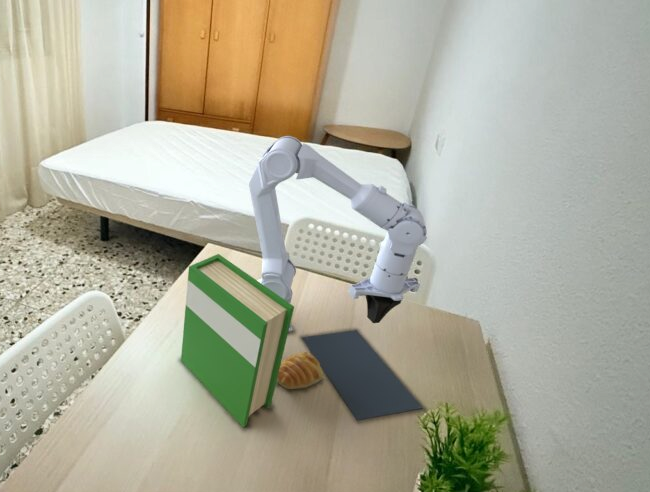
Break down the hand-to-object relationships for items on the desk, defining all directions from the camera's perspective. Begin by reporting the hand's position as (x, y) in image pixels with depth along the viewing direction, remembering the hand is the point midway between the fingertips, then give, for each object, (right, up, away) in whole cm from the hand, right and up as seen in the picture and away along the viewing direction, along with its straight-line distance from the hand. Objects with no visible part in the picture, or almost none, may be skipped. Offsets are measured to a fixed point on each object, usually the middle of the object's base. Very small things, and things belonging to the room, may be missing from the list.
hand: (373, 319), depth 84 cm
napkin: (-4, -10, 0) cm, 11 cm away
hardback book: (-32, -11, -4) cm, 34 cm away
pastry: (-16, -11, -2) cm, 20 cm away
